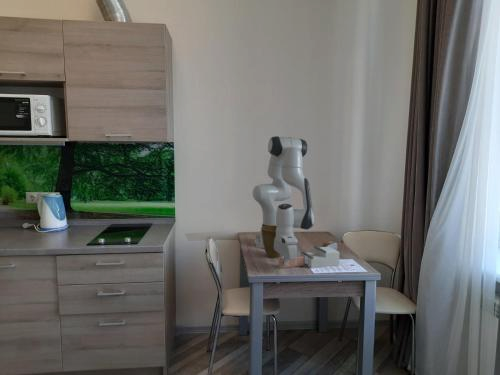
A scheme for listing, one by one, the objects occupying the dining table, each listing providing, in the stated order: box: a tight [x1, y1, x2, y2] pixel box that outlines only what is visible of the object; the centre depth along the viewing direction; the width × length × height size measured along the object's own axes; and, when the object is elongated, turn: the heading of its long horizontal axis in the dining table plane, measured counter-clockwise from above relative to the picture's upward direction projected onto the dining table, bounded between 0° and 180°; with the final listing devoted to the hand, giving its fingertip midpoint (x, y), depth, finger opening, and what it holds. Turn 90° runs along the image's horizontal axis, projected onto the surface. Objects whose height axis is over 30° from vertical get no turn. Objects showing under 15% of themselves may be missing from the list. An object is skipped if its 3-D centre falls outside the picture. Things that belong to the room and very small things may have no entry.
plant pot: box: [260, 226, 280, 259], centre depth 187 cm, size 15×15×16 cm
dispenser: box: [301, 245, 341, 269], centre depth 175 cm, size 11×16×8 cm
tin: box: [321, 239, 339, 251], centre depth 189 cm, size 15×3×8 cm, turn 137°
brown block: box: [278, 255, 305, 269], centre depth 170 cm, size 2×13×4 cm, turn 109°
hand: (284, 263), depth 169 cm, fingers closed on brown block, 2 cm apart
